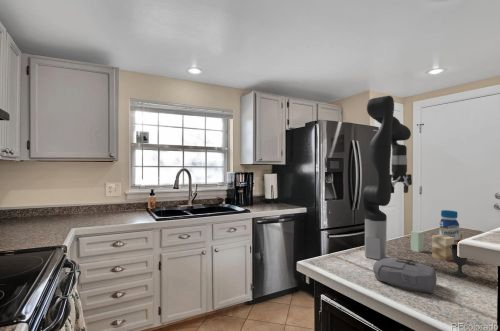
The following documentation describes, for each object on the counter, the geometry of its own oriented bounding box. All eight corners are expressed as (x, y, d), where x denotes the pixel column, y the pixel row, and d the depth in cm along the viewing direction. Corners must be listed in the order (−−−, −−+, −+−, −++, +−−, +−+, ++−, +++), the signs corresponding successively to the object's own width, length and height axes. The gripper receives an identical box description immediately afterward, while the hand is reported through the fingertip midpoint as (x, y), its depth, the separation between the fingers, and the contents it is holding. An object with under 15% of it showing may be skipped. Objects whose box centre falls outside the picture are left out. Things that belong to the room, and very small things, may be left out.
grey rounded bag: (438, 283, 95) (378, 270, 108) (438, 260, 95) (378, 249, 108) (434, 299, 83) (367, 281, 96) (434, 272, 83) (367, 258, 96)
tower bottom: (454, 259, 121) (454, 248, 121) (445, 261, 119) (445, 249, 119) (440, 255, 127) (440, 245, 127) (432, 257, 125) (432, 246, 125)
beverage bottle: (458, 249, 137) (458, 210, 138) (460, 253, 130) (460, 212, 130) (438, 246, 142) (438, 209, 142) (439, 250, 135) (439, 211, 135)
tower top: (454, 248, 121) (454, 237, 122) (445, 249, 119) (445, 238, 119) (440, 245, 127) (440, 234, 127) (432, 246, 125) (432, 235, 125)
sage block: (423, 251, 133) (423, 232, 134) (418, 252, 132) (418, 232, 132) (416, 249, 137) (416, 230, 137) (410, 249, 136) (410, 231, 136)
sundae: (466, 272, 106) (466, 234, 106) (474, 278, 99) (474, 238, 100) (446, 270, 108) (446, 233, 108) (453, 276, 101) (453, 237, 102)
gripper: (392, 163, 142) (392, 194, 143) (415, 163, 145) (415, 193, 145) (383, 163, 150) (383, 192, 150) (405, 163, 152) (405, 192, 153)
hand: (399, 192), depth 148 cm, fingers open, 8 cm apart
